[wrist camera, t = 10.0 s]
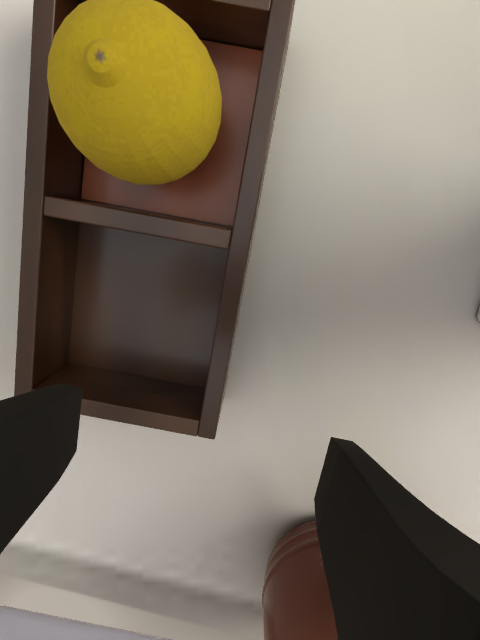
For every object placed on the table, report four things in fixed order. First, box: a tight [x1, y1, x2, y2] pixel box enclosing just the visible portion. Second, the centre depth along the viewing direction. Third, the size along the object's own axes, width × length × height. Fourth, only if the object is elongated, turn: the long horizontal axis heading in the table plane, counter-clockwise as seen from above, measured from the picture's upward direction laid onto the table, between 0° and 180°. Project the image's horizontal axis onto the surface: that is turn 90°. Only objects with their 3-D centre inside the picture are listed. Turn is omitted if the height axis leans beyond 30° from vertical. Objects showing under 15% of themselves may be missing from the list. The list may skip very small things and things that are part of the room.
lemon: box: [47, 0, 222, 185], centre depth 14 cm, size 6×6×8 cm
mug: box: [262, 521, 338, 640], centre depth 19 cm, size 12×9×10 cm
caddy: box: [14, 0, 295, 439], centre depth 18 cm, size 9×17×4 cm, turn 170°
